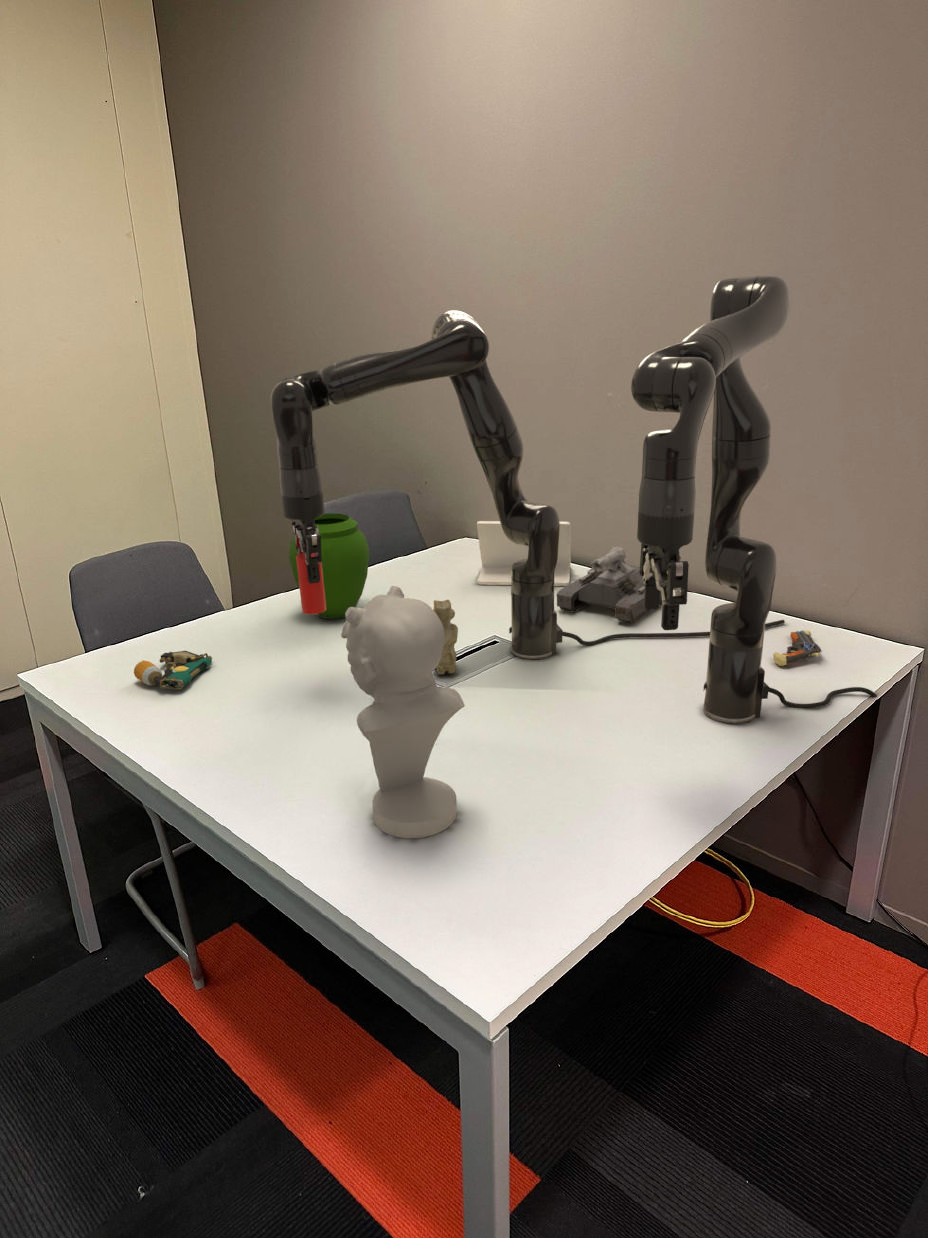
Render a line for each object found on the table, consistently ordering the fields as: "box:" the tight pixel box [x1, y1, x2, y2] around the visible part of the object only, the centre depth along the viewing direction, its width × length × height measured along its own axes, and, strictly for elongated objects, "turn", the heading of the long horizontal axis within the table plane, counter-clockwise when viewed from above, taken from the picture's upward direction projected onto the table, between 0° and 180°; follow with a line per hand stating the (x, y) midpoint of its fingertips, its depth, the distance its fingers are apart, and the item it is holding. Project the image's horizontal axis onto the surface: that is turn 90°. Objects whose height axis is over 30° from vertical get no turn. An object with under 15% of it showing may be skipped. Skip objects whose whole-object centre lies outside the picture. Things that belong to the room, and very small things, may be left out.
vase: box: [288, 512, 370, 620], centre depth 209 cm, size 20×20×24 cm
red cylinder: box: [296, 553, 326, 615], centre depth 163 cm, size 5×5×11 cm
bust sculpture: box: [340, 585, 465, 839], centre depth 128 cm, size 16×24×35 cm, turn 28°
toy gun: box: [772, 630, 823, 667], centre depth 183 cm, size 3×19×10 cm
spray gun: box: [133, 650, 213, 690], centre depth 180 cm, size 4×17×15 cm
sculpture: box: [433, 599, 459, 675], centre depth 177 cm, size 6×7×15 cm
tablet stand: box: [476, 520, 572, 587], centre depth 236 cm, size 18×25×17 cm
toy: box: [556, 546, 663, 624], centre depth 212 cm, size 25×20×15 cm
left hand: (311, 578), depth 163 cm, fingers closed on red cylinder, 4 cm apart
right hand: (660, 618), depth 123 cm, fingers open, 8 cm apart
